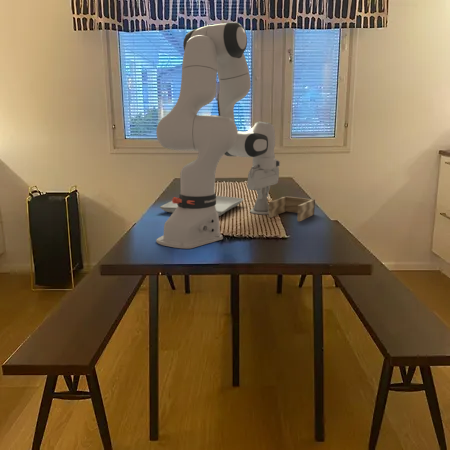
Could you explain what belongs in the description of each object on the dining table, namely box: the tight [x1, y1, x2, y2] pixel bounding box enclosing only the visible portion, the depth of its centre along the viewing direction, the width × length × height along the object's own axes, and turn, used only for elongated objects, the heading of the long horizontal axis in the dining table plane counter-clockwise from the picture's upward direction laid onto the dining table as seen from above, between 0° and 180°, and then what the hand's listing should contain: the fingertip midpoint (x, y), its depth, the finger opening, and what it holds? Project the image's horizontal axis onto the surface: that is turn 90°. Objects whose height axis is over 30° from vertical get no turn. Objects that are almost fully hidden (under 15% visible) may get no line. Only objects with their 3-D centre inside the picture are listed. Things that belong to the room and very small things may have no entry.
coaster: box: [249, 208, 269, 215], centre depth 189 cm, size 10×10×1 cm
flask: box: [252, 187, 269, 211], centre depth 188 cm, size 7×7×10 cm
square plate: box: [159, 195, 245, 216], centre depth 193 cm, size 27×27×4 cm
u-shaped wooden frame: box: [268, 195, 316, 222], centre depth 181 cm, size 14×13×6 cm
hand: (263, 197), depth 188 cm, fingers closed on flask, 3 cm apart
